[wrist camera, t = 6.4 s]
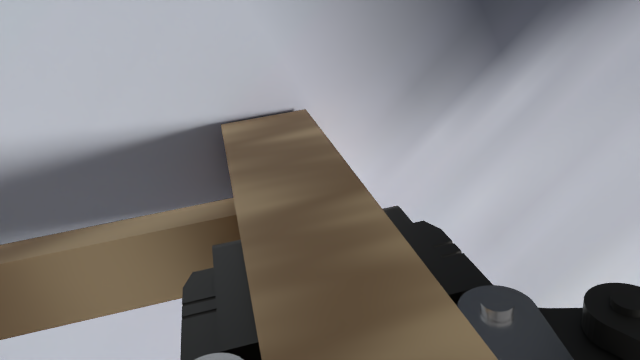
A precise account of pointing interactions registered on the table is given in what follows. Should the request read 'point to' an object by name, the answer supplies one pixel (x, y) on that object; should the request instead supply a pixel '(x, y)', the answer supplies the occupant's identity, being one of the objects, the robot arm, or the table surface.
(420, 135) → the table surface
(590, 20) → the table surface
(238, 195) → the oak rake
